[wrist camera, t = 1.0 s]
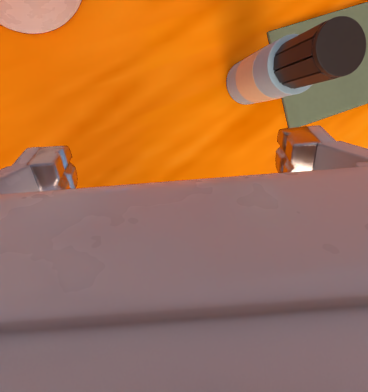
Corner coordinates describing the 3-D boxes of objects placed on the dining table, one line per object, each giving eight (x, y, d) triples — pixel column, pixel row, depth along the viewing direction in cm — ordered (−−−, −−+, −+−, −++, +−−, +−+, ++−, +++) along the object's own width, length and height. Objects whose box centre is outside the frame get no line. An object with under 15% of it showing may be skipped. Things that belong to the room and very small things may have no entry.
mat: (266, 32, 49) (268, 31, 49) (381, -2, 52) (383, -4, 51) (288, 130, 53) (290, 130, 52) (394, 93, 55) (397, 93, 55)
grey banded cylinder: (221, 67, 49) (283, 28, 30) (260, 54, 50) (344, 9, 31) (232, 110, 50) (298, 97, 32) (270, 97, 51) (356, 78, 33)
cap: (268, 47, 36) (309, 24, 28) (310, 34, 36) (362, 8, 28) (278, 93, 37) (321, 83, 29) (319, 80, 37) (371, 67, 30)
